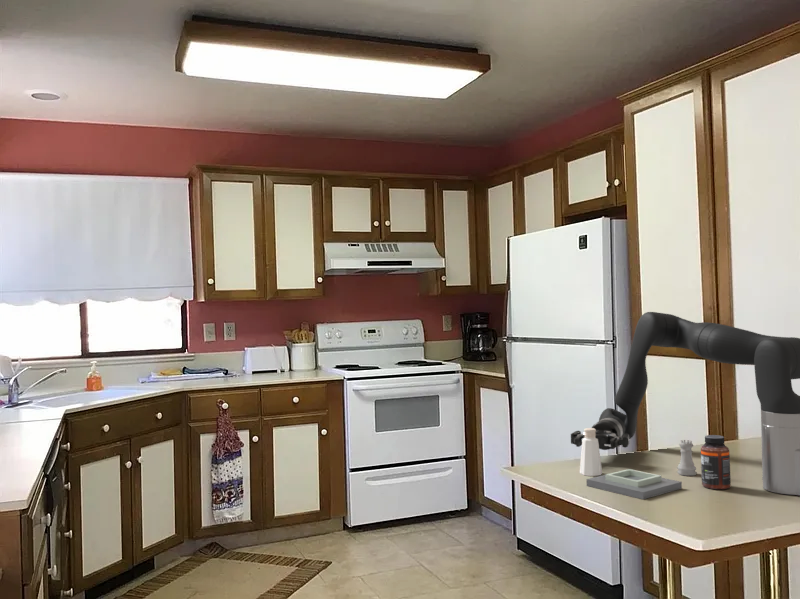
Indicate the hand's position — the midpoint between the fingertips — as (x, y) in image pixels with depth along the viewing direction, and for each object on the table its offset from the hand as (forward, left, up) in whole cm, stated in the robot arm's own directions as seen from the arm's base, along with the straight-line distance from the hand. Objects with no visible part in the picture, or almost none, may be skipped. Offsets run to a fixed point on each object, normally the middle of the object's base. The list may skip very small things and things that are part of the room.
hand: (594, 443), depth 178 cm
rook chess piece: (-17, -13, -7) cm, 22 cm away
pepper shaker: (-2, +4, -7) cm, 8 cm away
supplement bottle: (-28, -7, -7) cm, 30 cm away
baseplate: (-17, +7, -6) cm, 19 cm away
